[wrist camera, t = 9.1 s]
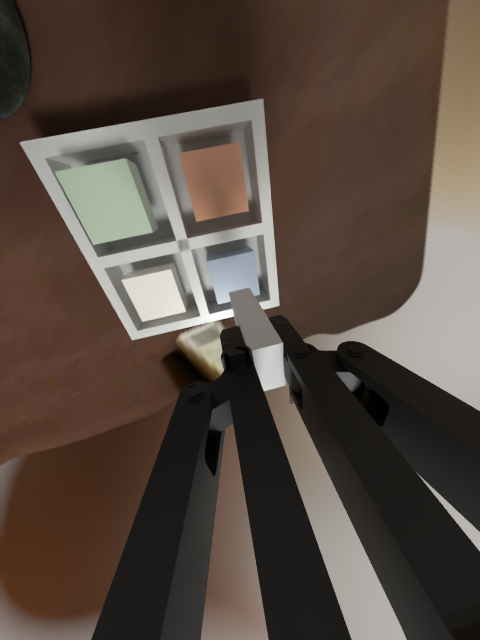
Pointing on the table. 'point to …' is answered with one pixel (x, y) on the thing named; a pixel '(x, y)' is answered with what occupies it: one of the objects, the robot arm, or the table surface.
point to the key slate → (233, 272)
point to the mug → (12, 60)
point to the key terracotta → (215, 181)
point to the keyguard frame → (171, 207)
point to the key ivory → (156, 291)
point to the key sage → (109, 200)
